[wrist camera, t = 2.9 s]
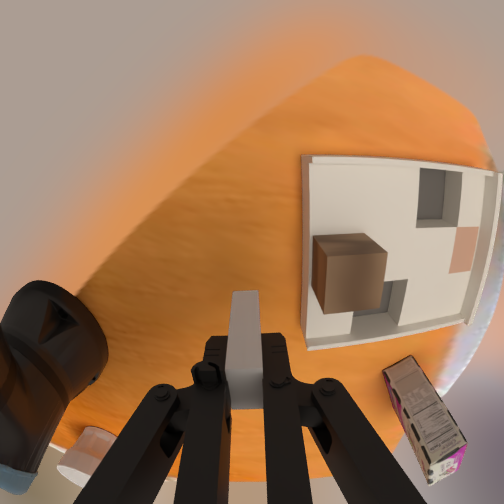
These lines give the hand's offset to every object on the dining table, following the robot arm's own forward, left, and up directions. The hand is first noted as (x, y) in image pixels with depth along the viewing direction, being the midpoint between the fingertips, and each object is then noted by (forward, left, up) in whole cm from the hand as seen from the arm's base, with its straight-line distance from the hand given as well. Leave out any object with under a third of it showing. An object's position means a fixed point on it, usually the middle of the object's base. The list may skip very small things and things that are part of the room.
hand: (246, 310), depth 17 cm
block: (+8, 0, -7) cm, 10 cm away
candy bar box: (+21, -21, -10) cm, 32 cm away
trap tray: (+15, 0, -10) cm, 18 cm away
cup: (-29, -35, -10) cm, 47 cm away
